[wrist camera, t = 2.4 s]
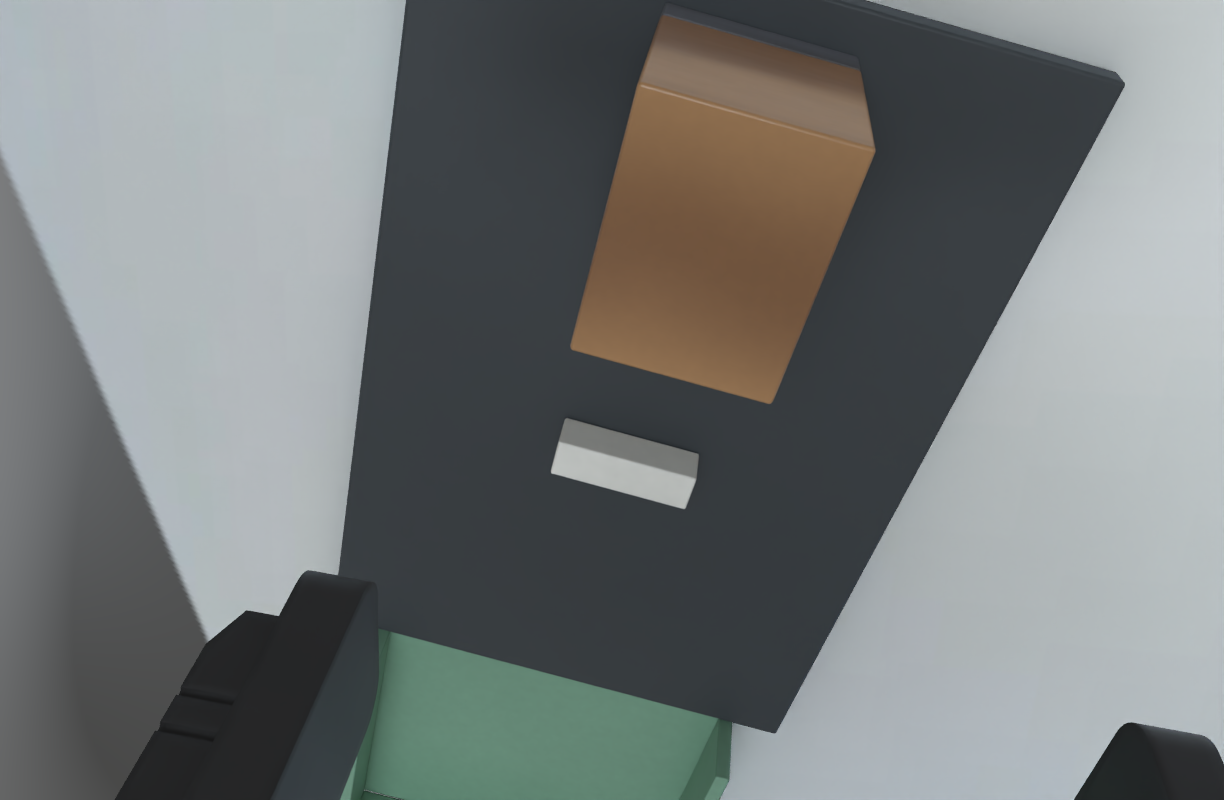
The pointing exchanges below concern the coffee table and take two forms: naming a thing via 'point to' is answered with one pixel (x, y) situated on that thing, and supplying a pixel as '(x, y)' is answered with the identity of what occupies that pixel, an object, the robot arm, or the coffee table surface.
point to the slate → (653, 403)
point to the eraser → (725, 203)
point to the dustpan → (525, 735)
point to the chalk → (625, 463)
